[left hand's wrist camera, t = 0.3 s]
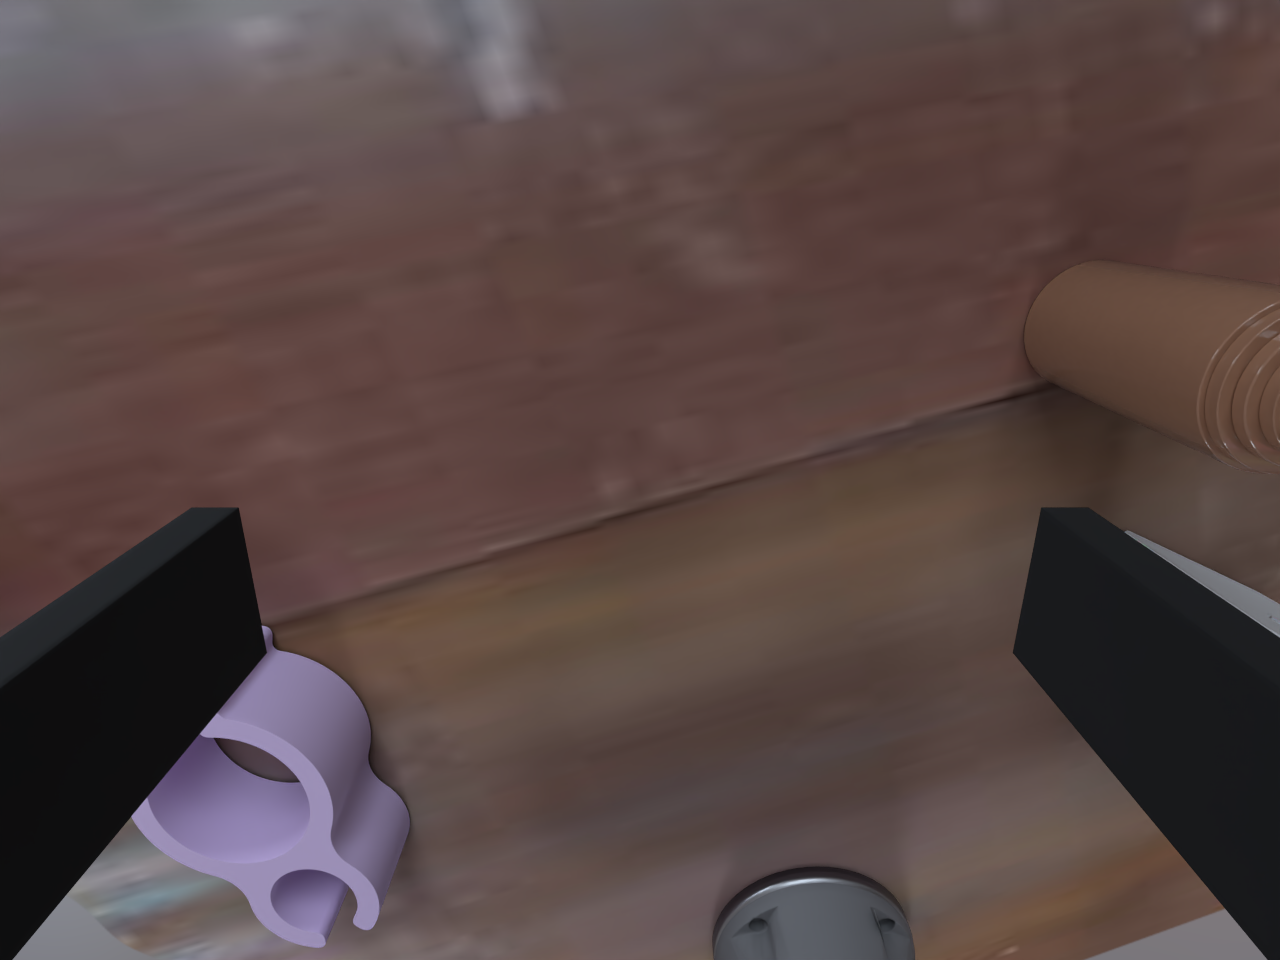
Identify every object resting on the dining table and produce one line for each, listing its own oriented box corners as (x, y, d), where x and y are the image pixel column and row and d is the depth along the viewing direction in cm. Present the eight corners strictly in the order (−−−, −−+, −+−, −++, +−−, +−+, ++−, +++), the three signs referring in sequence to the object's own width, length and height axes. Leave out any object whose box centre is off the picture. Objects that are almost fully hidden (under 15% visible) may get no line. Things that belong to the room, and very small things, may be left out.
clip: (451, 824, 55) (426, 908, 49) (309, 879, 57) (267, 967, 51) (292, 608, 49) (239, 672, 42) (138, 679, 51) (65, 750, 44)
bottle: (1020, 396, 44) (1294, 542, 26) (1026, 269, 41) (1332, 331, 23) (1147, 379, 44) (1516, 515, 25) (1160, 250, 41) (1580, 298, 23)
